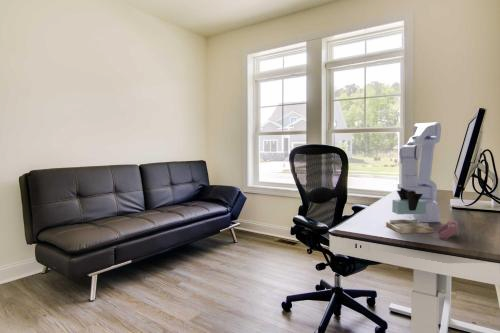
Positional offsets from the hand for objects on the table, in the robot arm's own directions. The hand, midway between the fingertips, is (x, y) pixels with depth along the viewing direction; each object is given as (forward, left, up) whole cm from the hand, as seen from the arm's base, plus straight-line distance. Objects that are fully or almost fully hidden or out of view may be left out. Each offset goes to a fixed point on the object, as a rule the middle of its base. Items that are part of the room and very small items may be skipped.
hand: (408, 209), depth 119 cm
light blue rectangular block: (0, 0, -2) cm, 2 cm away
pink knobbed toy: (-9, +11, -8) cm, 16 cm away
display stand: (0, 0, -8) cm, 8 cm away
